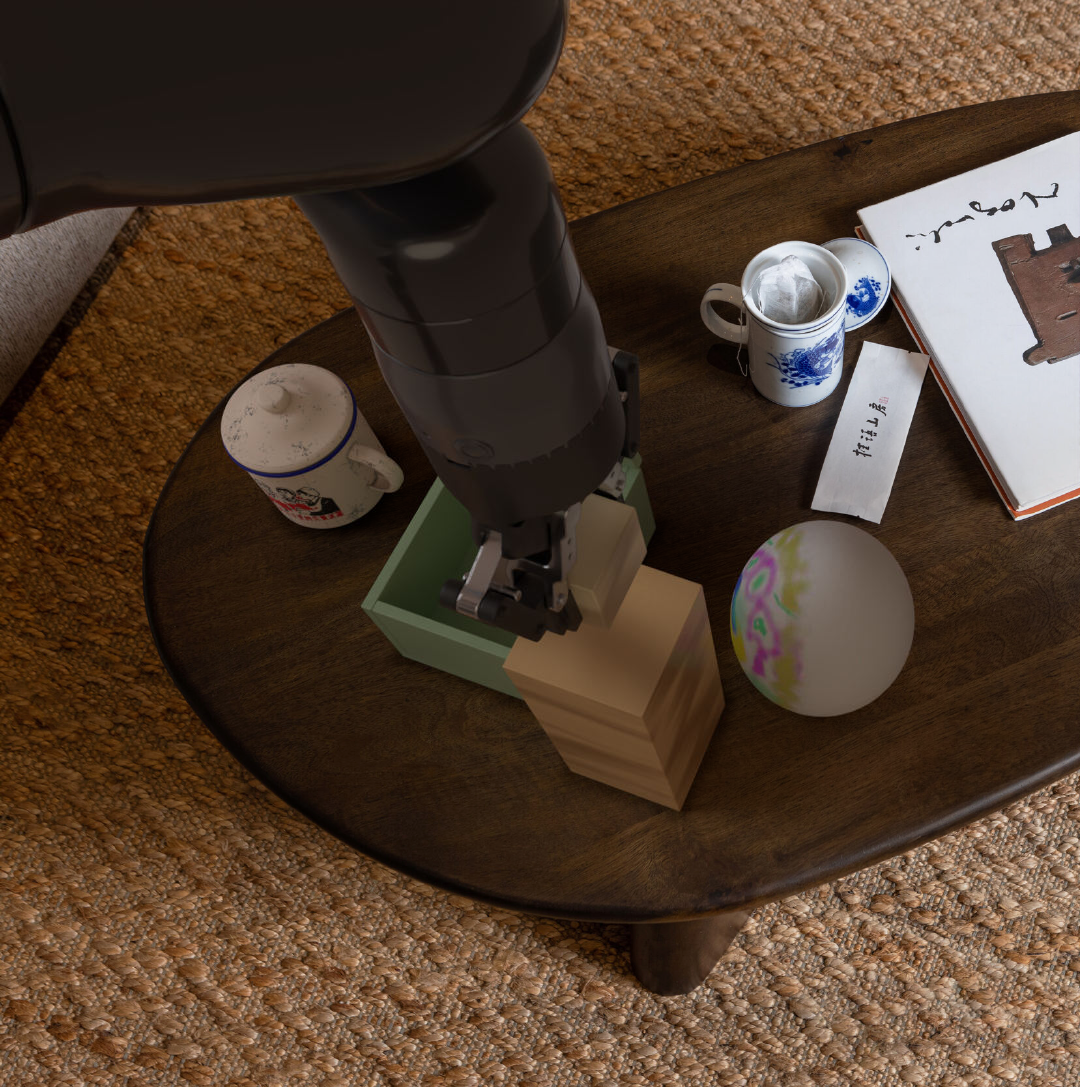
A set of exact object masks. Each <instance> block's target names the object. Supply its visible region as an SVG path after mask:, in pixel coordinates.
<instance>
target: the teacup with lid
mask: <svg viewBox="0 0 1080 1087" xmlns="http://www.w3.org/2000/svg"><path fill="white" fill-rule="evenodd" d="M224 408H225V409H224V410H223V414H222V417H221V422H220V435H221V440H222V444H223V447H224V449H225V451H226V453H227V455H228V456H229V457H230V458H229V459H231V460H232V461H233V462H234V463H235V464H236V465H237V466H238V467H240V468H241V469H243V470H244V471H246V472H247V473H248V475H249V476H250V477H251V478H252V480H254V482H255V483H256V484H257V486H259V488H261V490H262V491H263V492H264V494H265V495H267V497H268V498H269V499H270V500H271V502H272V503H273V504H274V505H275V506H276V507H277V509H278V510H279V511H280V512H281V513H282V514H283V515H284V516H285V517H286V518H287V519H289V520H290V521H292V522H294V523H295V524H297V525H300V526H302V527H306V528H311V529H319V530H320V529H322V530H323V529H333V528H338V527H342V526H345V525H348V524H350V523H353V522H355V521H357V520H359V519H361V518H362V517H363V516H364V515H366V514H368V513H369V512H370V511H371V510H372V509H373V508H375V507H376V505H377V504H378V502H380V500H381V499H382V497H383V495H384V493H394V492H396V491H398V490H399V489H400V488H401V486H402V484H403V483H404V480H405V479H404V478H405V476H404V471H403V469H401V467H400V466H399V465H398V463H397V462H396V461H395V460H393V459H392V458H391V457H389V456H388V455H387V452H386V451H385V449H384V447H383V445H382V444H381V443H380V441H379V439H378V437H377V435H375V433H374V431H373V430H372V428H371V427H370V424H369V423H368V421H367V420H366V418H365V417H364V415H363V413H362V412H361V411H360V409H359V407H358V405H357V401H356V397H355V395H354V393H353V390H352V389H351V388H350V386H349V384H348V383H347V382H345V380H344V379H342V378H341V377H340V376H339V375H337V374H335V373H334V372H332V371H330V370H329V369H327V368H324V367H321V366H318V365H314V364H308V363H287V364H281V365H277V366H272V367H271V368H268V369H265V370H263V371H261V372H259V373H257V374H255V375H253V376H251V377H250V378H249V379H247V380H246V381H245V382H244V383H242V384H241V386H239V387H238V388H237V390H236V391H234V393H233V394H232V395H231V397H230V398H229V399H228V402H227V404H226V406H225V407H224Z"/></svg>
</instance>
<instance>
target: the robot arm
mask: <svg viewBox="0 0 1080 1087" xmlns="http://www.w3.org/2000/svg"><path fill="white" fill-rule="evenodd" d="M570 11H571V0H0V241H3V240H7V239H9V238H11V237H12V236H16V235H23V234H25V233H28V232H31V231H34V230H36V229H39V228H42V227H44V226H46V225H50V224H53V223H54V222H58V221H60V220H62V219H66V218H68V217H71V216H74V215H77V214H82V213H87V212H92V211H98V210H99V211H100V210H106V209H121V208H138V207H141V208H142V207H181V206H183V207H184V206H203V205H213V204H222V203H223V204H225V203H231V202H232V203H233V202H241V201H252V200H260V199H261V200H262V199H263V200H264V199H275V198H285V197H290V199H291V200H292V201H293V202H294V204H295V205H296V206H297V208H298V209H299V210H300V212H301V213H302V215H303V216H304V217H305V219H306V220H307V221H308V223H309V224H310V226H311V227H312V228H313V230H314V231H315V233H316V234H317V236H318V238H319V240H320V242H321V245H322V247H323V249H324V251H325V254H326V256H327V258H328V260H329V262H330V265H331V266H332V268H333V270H334V273H335V274H336V276H337V278H338V280H339V282H340V283H341V285H342V287H343V289H344V290H345V292H346V294H347V296H348V298H349V299H350V301H351V303H352V305H353V307H354V309H355V310H356V313H357V314H358V316H359V318H360V320H361V322H362V324H363V325H364V327H365V330H366V332H367V335H368V336H369V339H370V342H371V347H372V350H373V354H374V356H375V359H376V362H377V365H378V368H379V370H380V373H381V374H382V377H383V379H384V381H385V383H386V385H387V387H388V389H389V391H390V392H391V394H392V395H393V397H394V400H395V401H396V403H397V405H398V407H399V409H400V410H401V412H402V413H403V416H404V417H405V420H406V421H407V423H408V425H409V426H410V428H411V430H412V431H413V433H414V435H415V437H416V439H417V441H418V442H419V444H420V446H421V448H422V450H423V451H424V454H425V455H426V457H427V459H428V461H429V462H430V464H431V466H432V467H433V470H434V472H435V473H436V475H437V477H439V478H440V480H441V481H442V483H443V484H444V486H445V487H446V488H447V489H448V490H449V492H450V493H451V494H452V495H453V496H454V497H455V498H456V499H457V500H458V501H459V502H460V503H461V504H462V505H463V506H464V507H465V508H466V509H467V510H468V511H469V512H470V514H471V533H472V538H473V541H474V543H475V544H476V546H477V547H478V548H480V550H479V552H478V555H477V557H476V559H475V562H474V564H473V566H472V569H471V571H470V573H469V572H467V573H465V574H464V576H463V578H462V581H461V580H458V579H455V578H450V579H448V580H447V581H446V583H445V584H444V586H443V587H442V590H441V592H440V596H439V604H440V606H442V607H444V608H447V609H449V610H452V611H454V612H456V613H459V614H461V615H464V616H466V617H469V618H471V619H474V620H476V621H479V622H481V623H484V624H486V625H489V626H492V627H495V628H496V627H497V628H499V629H502V630H505V631H508V632H511V633H513V634H516V635H518V636H520V637H523V638H525V639H528V640H531V641H534V642H539V641H540V640H541V638H542V637H543V635H544V634H545V632H546V630H547V631H550V632H553V633H555V634H558V635H563V636H564V635H565V633H566V631H567V630H569V631H572V632H577V630H578V628H579V626H580V624H581V622H582V620H583V617H582V615H581V613H580V610H579V608H578V606H577V603H576V601H575V599H574V596H573V594H572V592H571V590H569V589H568V574H569V572H570V571H571V569H572V568H573V566H574V565H575V564H576V562H577V538H576V524H577V522H578V521H579V520H580V518H581V504H582V503H583V501H584V500H585V498H586V497H587V496H589V495H590V494H591V493H593V494H596V495H599V496H602V497H605V498H608V499H611V500H614V501H617V502H620V503H623V504H625V501H624V498H623V494H622V491H623V490H624V489H625V486H626V474H625V473H624V472H623V471H622V470H621V469H622V467H623V466H622V462H623V460H624V457H625V458H628V459H633V458H634V457H635V455H636V453H637V452H639V451H640V447H641V402H640V399H641V397H640V395H641V394H640V393H641V392H640V357H639V355H638V354H636V353H632V352H628V351H626V350H622V349H619V348H616V347H614V346H610V345H608V344H607V340H606V339H607V338H606V335H605V331H604V327H603V324H602V319H601V314H600V311H599V307H598V305H597V302H596V298H595V297H594V294H593V291H592V289H591V287H590V285H589V282H588V281H587V278H586V277H585V275H584V273H583V271H582V269H581V265H580V262H579V260H578V256H577V252H576V249H575V244H574V242H573V241H574V240H573V236H572V233H571V230H570V225H569V221H568V217H567V214H566V209H565V205H564V201H563V198H562V194H561V190H560V186H559V185H558V181H557V178H556V176H555V173H554V170H553V167H552V166H551V164H550V162H549V159H548V157H547V155H546V153H545V151H544V149H543V147H542V145H541V143H540V142H539V140H538V139H537V137H536V136H535V134H534V133H533V132H532V130H531V129H530V128H529V127H528V126H527V125H526V124H525V123H524V122H523V120H522V119H523V118H524V117H525V116H526V115H527V114H528V113H529V111H530V110H531V109H532V108H533V106H534V105H535V104H536V102H537V101H538V99H539V98H540V97H541V95H542V94H543V93H544V91H545V90H546V88H547V87H548V85H549V83H550V81H551V80H552V78H553V76H554V73H556V70H557V68H558V66H559V62H560V60H561V57H562V54H563V50H564V46H565V42H566V38H567V34H568V29H569V24H570V23H569V22H570V15H571V14H570V13H571V12H570Z"/></svg>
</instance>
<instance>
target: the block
mask: <svg viewBox="0 0 1080 1087" xmlns="http://www.w3.org/2000/svg"><path fill="white" fill-rule="evenodd" d="M576 538H577V562H576V564H575V565H574V566H573V568H572V569H571V571H570V572H569V574H568V589H569V590H571V592H572V594H573V596H574V599H575V601H576V603H577V606H578V608H579V610H580V613H581V615H582V617H583V620H582V623H585V624H588V625H591V626H594V627H596V628H599V629H602V630H605V631H609V629H610V627H611V625H612V623H613V621H614V619H615V617H616V615H617V613H618V611H619V609H620V607H621V604H622V602H623V600H624V598H625V596H626V594H627V592H628V590H629V588H630V586H631V584H632V582H633V580H634V578H635V576H636V574H637V572H638V570H639V567H640V565H641V564H642V563H643V561H644V559H645V558H646V556H647V553H648V550H647V547H646V546H645V542H644V538H643V534H642V531H641V527H640V523H639V520H638V516H637V512H636V509H635V508H634V507H632V506H629V505H626V504H623V503H620V502H617V501H614V500H611V499H608V498H605V497H602V496H599V495H596V494H593V493H591V494H590V495H589V496H587V497H586V498H585V500H584V501H583V503H582V504H581V518H580V520H579V521H578V522H577V524H576Z"/></svg>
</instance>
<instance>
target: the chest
mask: <svg viewBox="0 0 1080 1087" xmlns="http://www.w3.org/2000/svg"><path fill="white" fill-rule="evenodd" d="M622 466H623V467H622V469H621V470H622V471H623V472H624V473H625V474H626V486H625V489H624V490H623V491H622V494H623V498H624V501H625V504H626V505H629V506H632V507H634V508H635V509H636V512H637V516H638V520H639V523H640V527H641V531H642V534H643V538H644V542H645V546H646V548H647V547H648V545H649V543H650V542H651V539H652V536H653V535H654V533H655V531H656V528H657V525H656V522H655V518H654V514H653V509H652V507H651V506H652V505H651V502H650V498H649V494H648V491H647V486H646V481H645V479H644V475H643V474H644V473H643V470H642V468H641V467H639V469H635V468H632V467H629V466H626V465H623V464H622ZM479 550H480V548H478V547H477V546H476V544H475V543H474V541H473V538H472V533H471V514H470V512H469V511H468V510H467V509H466V508H465V507H464V506H463V505H462V504H461V503H460V502H459V501H458V500H457V499H456V498H455V497H454V496H453V495H452V494H451V493H450V492H449V490H448V489H447V488H446V487H445V486H444V484H443V483H442V481H441V480H440V478H439V477H438V476H437V477H436V479H435V481H434V482H433V484H432V486H431V487H430V489H429V490H428V492H427V494H426V496H425V497H424V499H423V501H422V502H421V504H420V506H419V507H418V509H417V511H416V513H415V514H414V516H413V518H412V519H411V521H410V523H409V525H408V526H407V528H406V529H405V531H404V533H403V534H402V536H401V537H400V539H399V541H398V543H397V545H396V546H395V548H394V550H393V551H392V553H391V555H390V556H389V558H388V560H387V561H386V563H385V565H384V567H383V568H382V570H381V571H380V573H379V575H378V576H377V578H376V580H375V581H374V583H373V585H372V587H371V588H370V590H369V592H368V593H367V595H366V597H365V598H364V599H363V602H362V604H361V605H360V607H361V609H362V610H363V611H364V612H365V613H366V615H367V616H368V617H369V618H370V619H371V620H372V622H373V623H374V624H375V625H376V626H377V628H378V629H379V631H381V632H382V633H383V634H384V636H385V637H386V638H387V639H388V640H389V642H391V644H392V645H393V646H394V647H395V649H396V650H397V651H398V652H399V653H400V655H401V656H402V657H404V658H407V659H410V660H412V661H415V662H418V663H421V664H423V665H426V666H429V667H432V668H434V669H437V670H440V671H442V672H445V673H448V674H451V675H453V676H455V677H459V678H462V679H464V680H467V681H470V682H473V683H475V684H478V685H481V686H484V687H486V688H489V689H491V690H494V691H498V692H500V693H502V694H505V695H508V696H512V697H514V698H516V699H519V700H522V701H525V700H524V699H523V697H522V696H521V694H520V693H519V691H518V690H517V688H516V687H515V685H514V684H513V682H512V681H511V679H510V678H509V676H508V674H507V673H506V671H505V670H504V668H503V664H504V663H505V661H506V659H507V657H508V655H509V653H510V651H511V649H512V647H513V645H514V643H515V641H516V639H517V638H518V635H516V634H513V633H511V632H508V631H505V630H502V629H499V628H497V627H496V628H495V627H492V626H489V625H486V624H484V623H481V622H479V621H476V620H474V619H471V618H469V617H466V616H464V615H461V614H459V613H456V612H454V611H452V610H449V609H447V608H444V607H442V606H440V604H439V596H440V592H441V590H442V587H443V586H444V584H445V583H446V581H447V580H448V579H450V578H455V579H458V580H461V581H462V578H463V576H464V574H465V573H467V572H469V573H470V571H471V569H472V566H473V564H474V562H475V559H476V557H477V555H478V552H479Z"/></svg>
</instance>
